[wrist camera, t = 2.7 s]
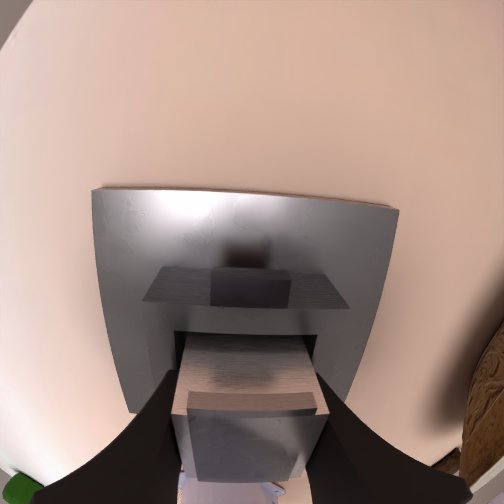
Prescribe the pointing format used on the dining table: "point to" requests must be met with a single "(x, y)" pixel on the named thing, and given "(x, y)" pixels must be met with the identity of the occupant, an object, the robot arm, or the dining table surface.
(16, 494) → the bell pepper
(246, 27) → the dining table surface
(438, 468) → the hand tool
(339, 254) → the grey square plate
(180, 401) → the silver metal block
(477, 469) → the bowl
